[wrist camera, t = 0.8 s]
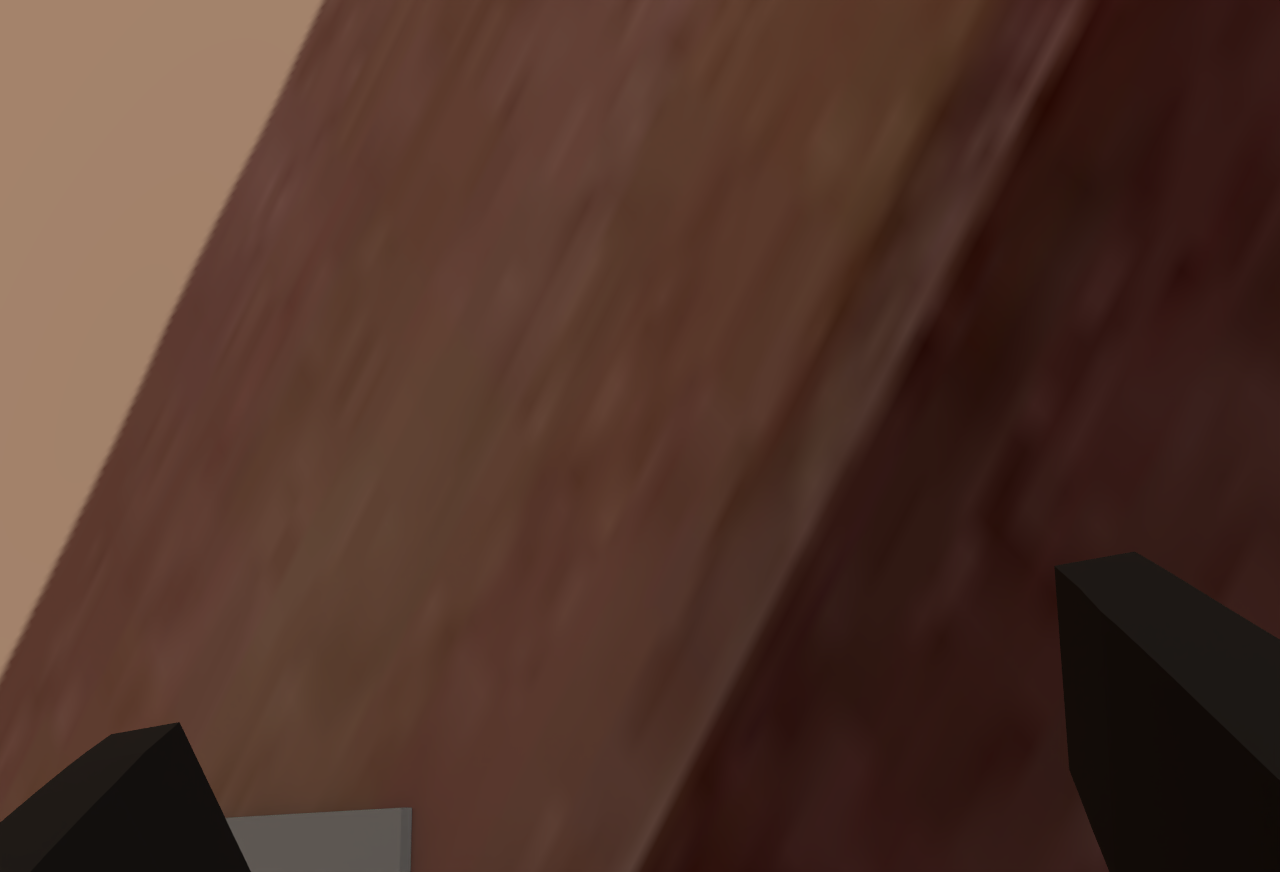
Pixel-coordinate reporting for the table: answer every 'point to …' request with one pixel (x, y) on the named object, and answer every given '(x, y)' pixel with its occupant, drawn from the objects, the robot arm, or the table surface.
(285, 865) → the mat
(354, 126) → the table surface
